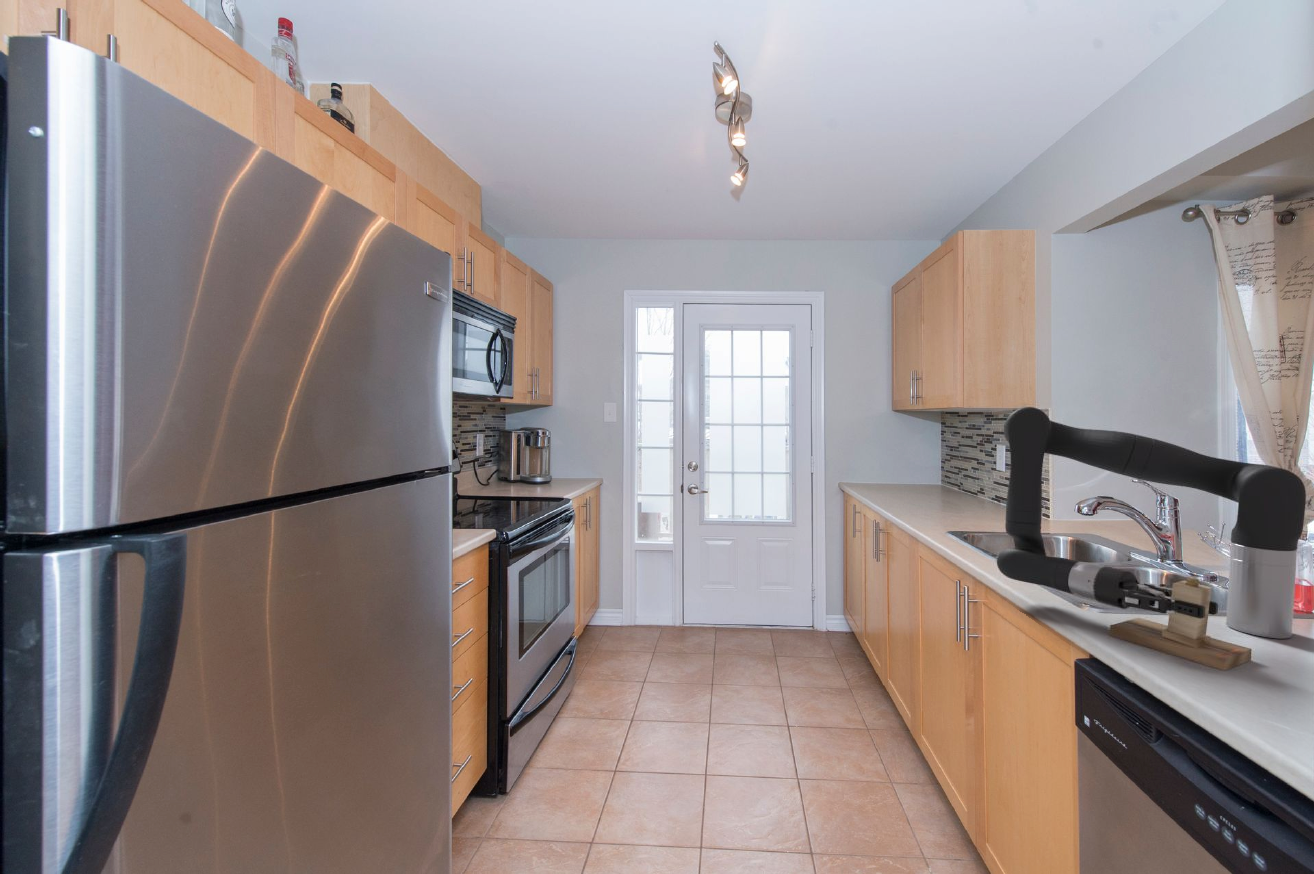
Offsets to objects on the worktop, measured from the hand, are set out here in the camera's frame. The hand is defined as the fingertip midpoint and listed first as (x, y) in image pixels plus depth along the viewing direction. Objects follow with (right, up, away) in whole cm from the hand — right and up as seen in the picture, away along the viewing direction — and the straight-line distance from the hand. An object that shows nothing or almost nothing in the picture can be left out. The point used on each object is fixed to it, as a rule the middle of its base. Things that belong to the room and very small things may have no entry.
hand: (1210, 610), depth 103 cm
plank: (-1, -8, +5) cm, 10 cm away
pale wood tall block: (-2, -6, +3) cm, 7 cm away
